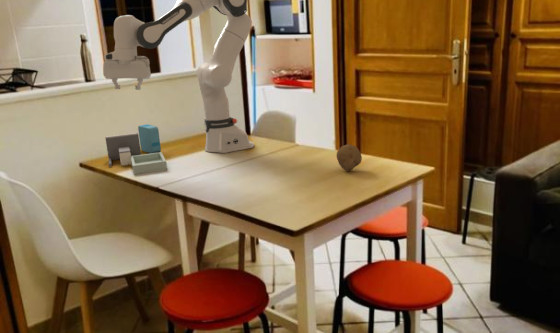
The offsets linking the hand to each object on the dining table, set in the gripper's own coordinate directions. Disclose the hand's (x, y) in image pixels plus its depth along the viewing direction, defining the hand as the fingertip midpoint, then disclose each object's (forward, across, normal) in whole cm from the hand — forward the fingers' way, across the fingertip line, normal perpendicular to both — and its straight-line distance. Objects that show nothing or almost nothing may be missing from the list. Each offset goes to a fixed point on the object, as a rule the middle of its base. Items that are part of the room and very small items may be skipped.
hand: (127, 89), depth 218 cm
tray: (+31, -12, +7) cm, 34 cm away
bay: (+31, +3, -1) cm, 31 cm away
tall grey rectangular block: (+31, +2, 0) cm, 31 cm away
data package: (+30, 0, -18) cm, 35 cm away
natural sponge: (+27, -95, +11) cm, 100 cm away
